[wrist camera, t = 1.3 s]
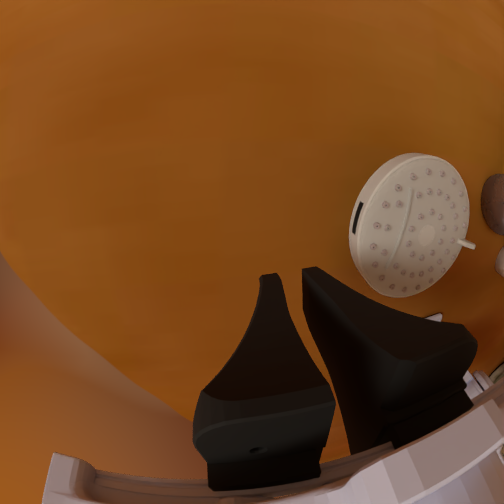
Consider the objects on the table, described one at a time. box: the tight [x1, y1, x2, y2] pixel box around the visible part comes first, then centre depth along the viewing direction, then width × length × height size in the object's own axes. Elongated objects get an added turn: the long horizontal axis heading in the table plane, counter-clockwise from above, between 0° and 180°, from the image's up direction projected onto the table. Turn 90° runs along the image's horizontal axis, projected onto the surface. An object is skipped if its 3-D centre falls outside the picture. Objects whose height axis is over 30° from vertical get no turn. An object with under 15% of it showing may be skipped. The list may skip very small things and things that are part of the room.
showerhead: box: [349, 153, 476, 298], centre depth 17 cm, size 9×7×10 cm
